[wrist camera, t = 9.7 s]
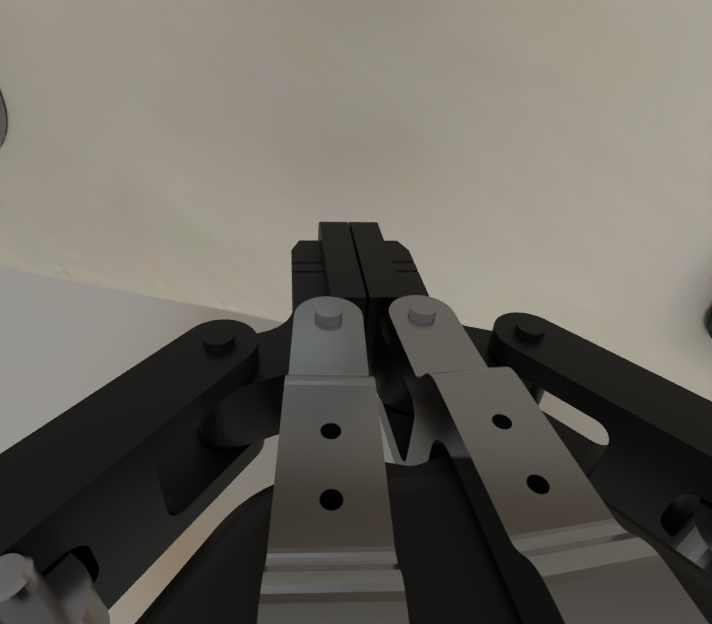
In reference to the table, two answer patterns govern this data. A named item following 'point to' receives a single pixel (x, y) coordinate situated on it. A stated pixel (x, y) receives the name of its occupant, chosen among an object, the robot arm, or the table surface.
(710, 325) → the coffee jar
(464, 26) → the table surface
